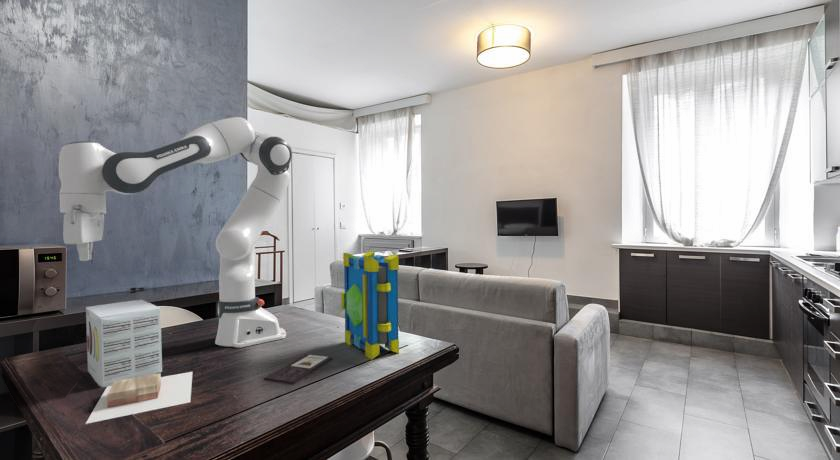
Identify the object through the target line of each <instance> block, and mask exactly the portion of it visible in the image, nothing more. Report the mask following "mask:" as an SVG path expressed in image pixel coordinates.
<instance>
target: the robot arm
mask: <svg viewBox="0 0 840 460" xmlns="http://www.w3.org/2000/svg"><path fill="white" fill-rule="evenodd" d="M292 150H293V149H292V147H291V145H290V144H289V143H288V142H287V141H286V140H284V139H283V138H282V137H279V136H275V135H272V134H271V133H265V132H264V133H263V132H258V131H255V129H254V127H253V126H252V124H251V123H250V122H249V121H248V120H247V119H246V118H244V117H239V116H235V117H227V118H223V119H219V120H215V121H213V122H209V123H206V124H204V125H202V126H200V127H198V128H196V129H194V130H192V131H190V132H189V133H187V134H186V135H185V136H184V137H183V138H181V139H180V140H177V141H175V142H172V143H169V144H166V145H163V146H161V147H157V148H155V149H152V150H149V151H144V152H143V151H142V152H133V151H126V152H124V151H123V152H122V151H121V152H117V153H116V152H113V151H112V150H110V149H108V148H106V147H104V146H103V145H101V143H99V142H96V141H73V142H70V143H69V142H68V143H66V144H64V145H63V147H62V148H61V149H60V152H59V156H58V177H59V180H60V183H61V184H60V190H59V212H60V213H62V214H64V215H63V228H62V232H63V233H62V234H63V235H62V237H63V238H62V239H63V242H64V244H65V245H76V250H77V252H78V258H79V261H81V262H88V261H90V260H92V252H93V247H94V244H93V243H94V242H99V241H102V240H103V236H104V229H105V214H107V212H108V211H107V209H108V208H107V194H106V193H107V192H113V193H117V194H120V195H133V194H137V193H141V192H143V191H145V190H146V189H147V188H149V187H150V185H152V184H153V182H154V181H156V179H157V178H159V177H160V176H162V175H163V174H166V173H169V172H171V171H173V170H174V171H175V170H176V169H179V168H181V167H184V166H186V165H191V164H197V163H199V164H203V165H207V164H211V163H212V164H213V163H217V162H219V161H223V160H226V159H228V158H230V157H232V156H235V155H237V154H240V155H241V157H242V158H243V159H244V160H246V161H247V162H249V163H252V164H254V165H255V166H257V171H256V175H255V178H254V179H253V180H252V182H251V183H250V185H249V186H248V188H247V190H246V192H245V193H244V195H243V196H242V199H241V200H240V201H239V203H238V205H237V206H236V208H235V209H234V211H232V214H231V215H230V216H229V218H228V219H227V221H226V222H225V224H224V225H223V227H222V229H221V231H220V232H219V233H218V235H217V236H216V240H215V248H216V251H217V252H218V254H219V257H220V258H219V273H218V294H219V297H218V298H219V300H217V316H218V327H217V333H216V337H215V341H214V344H215V345H218V346H220V347H233V348H237V349H238V348H245V347H249V346H255V345H258V344H264V343H268V342H269V343H270V342H273V341H277V340H282V339H284V338H286V337H287V332H286V330H285V329H284V328H282V327H280V324H279V320H278V318H277V317H276V316H275V315H274V314H273V313H271V312H270V311H268V310H266V309H265V308H263V307H262V306H264V305H265V301H264V299H261V298H259V297H258V296H256V285H255V284H256V279H255V278H256V277H255V275H256V274H255V273H256V267H255V264H256V261H255V260H256V254H255V253H256V251H255V250H256V243H257V242H258V239H259V238H260V236H261V235H262V233H263V231H264V230H265V228H266V227H267V225H268V223H269V221H270V220H271V218H272V216H273V214H274V213H275V212H276V209H277V208H278V206H279V204H280V203H281V201H282V199H283V197H284V195H285V194H286V191H287V189H288V186H289V183H290V181H291V174H290V173H289V171H288V169H290V164H291V161H292V155H293V154H292V153H293V151H292Z"/></svg>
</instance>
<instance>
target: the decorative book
mask: <svg viewBox="0 0 840 460" xmlns="http://www.w3.org/2000/svg"><path fill="white" fill-rule="evenodd" d="M375 254H376V253H375V251H372V250H371V251H370V250H368V251H367V252H366V253H364V254H362V256H359V255H358V256H357V255H356V256H355V255H353V254H351V253H348V252H343V266H344V273H343V274H344V291H343V292H341V291H340V292H341V296H340V297H341V298H340V299H341V303H340V304H341V310H343V309H344V326H345V327H344V342H345V343H346V344H347V345H349V346H352V345H354V346H356V348H358V349H361V350H363V351H364V356H365V357H366V358H368V359H369V360H370V361H372V360H374V359H375V358H376V357H378V356H379V355H380V350H381V349H380V345H384V348H386V349H387V350H389V351H391V352H393V353H397V354H399V353H400V339H399V294H398V293H399V288H398V287H399V286H398V285H399V277H398V276H399V275H398V271H399V261H400V260H399V259H400V258H399V255H398V254H390V255H388V256H384V255H383V254H382V255H381V254H376V255H375Z"/></svg>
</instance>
